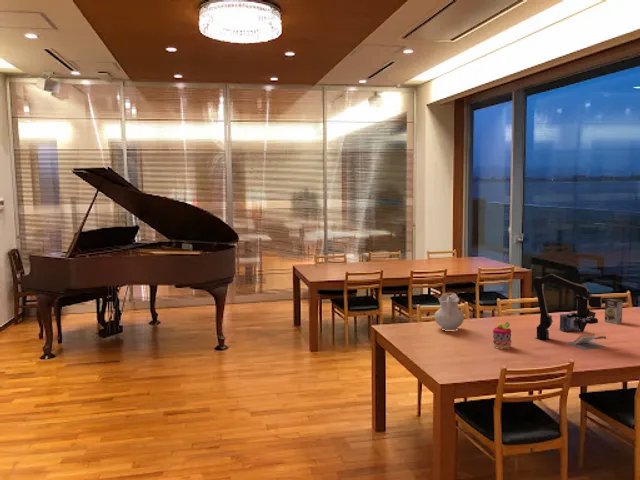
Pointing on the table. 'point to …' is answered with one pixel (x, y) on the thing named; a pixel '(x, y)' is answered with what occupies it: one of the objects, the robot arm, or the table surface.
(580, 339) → the tile
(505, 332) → the cake
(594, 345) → the mat
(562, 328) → the small box
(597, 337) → the turner
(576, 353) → the table surface
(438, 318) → the ceramic pitcher
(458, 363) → the table surface
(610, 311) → the coffee box
